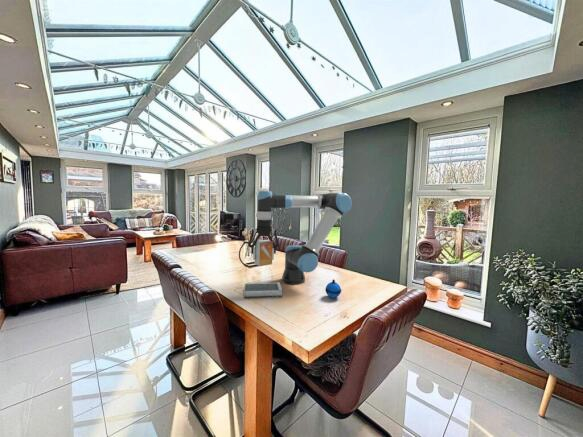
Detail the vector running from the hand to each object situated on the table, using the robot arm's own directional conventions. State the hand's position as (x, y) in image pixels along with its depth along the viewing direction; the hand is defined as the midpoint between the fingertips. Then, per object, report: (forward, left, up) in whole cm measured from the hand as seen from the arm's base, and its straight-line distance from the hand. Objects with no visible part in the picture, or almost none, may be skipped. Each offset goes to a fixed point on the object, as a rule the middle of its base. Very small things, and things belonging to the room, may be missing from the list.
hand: (263, 259), depth 137 cm
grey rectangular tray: (0, 0, -19) cm, 19 cm away
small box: (0, 0, -3) cm, 3 cm away
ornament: (-38, +9, -20) cm, 44 cm away
